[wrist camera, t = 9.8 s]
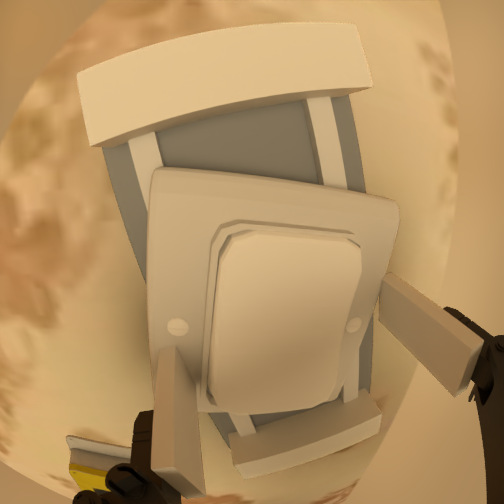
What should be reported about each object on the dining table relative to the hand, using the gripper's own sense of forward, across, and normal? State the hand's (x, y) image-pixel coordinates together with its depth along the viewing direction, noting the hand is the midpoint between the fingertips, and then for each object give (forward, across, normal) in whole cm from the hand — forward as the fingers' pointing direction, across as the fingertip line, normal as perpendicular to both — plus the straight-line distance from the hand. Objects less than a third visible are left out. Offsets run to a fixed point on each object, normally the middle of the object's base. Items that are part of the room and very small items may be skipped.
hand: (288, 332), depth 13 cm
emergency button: (+4, +19, +17) cm, 26 cm away
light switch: (+1, +1, -1) cm, 2 cm away
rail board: (+3, 0, 0) cm, 3 cm away
